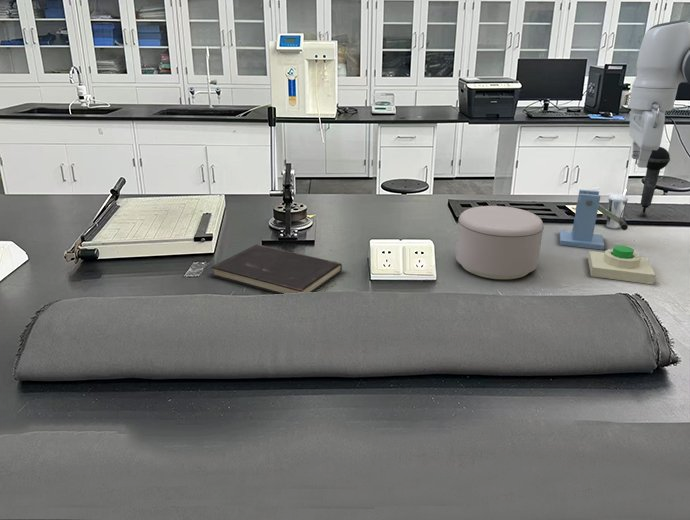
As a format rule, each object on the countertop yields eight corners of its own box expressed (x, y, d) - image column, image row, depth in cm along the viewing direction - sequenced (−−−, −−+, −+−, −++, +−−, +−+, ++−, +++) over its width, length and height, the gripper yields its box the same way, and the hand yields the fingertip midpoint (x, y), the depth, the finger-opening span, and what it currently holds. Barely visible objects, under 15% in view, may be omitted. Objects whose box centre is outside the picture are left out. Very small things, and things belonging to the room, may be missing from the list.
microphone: (624, 213, 156) (639, 144, 149) (646, 212, 157) (662, 144, 149) (639, 220, 150) (655, 149, 142) (661, 219, 151) (678, 148, 143)
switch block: (645, 266, 120) (649, 250, 118) (653, 284, 111) (657, 266, 109) (587, 259, 123) (591, 243, 122) (590, 276, 115) (594, 259, 113)
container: (535, 287, 109) (543, 234, 105) (448, 275, 115) (452, 223, 110) (538, 256, 125) (545, 208, 120) (461, 246, 131) (465, 200, 126)
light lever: (620, 225, 132) (627, 217, 131) (623, 232, 127) (630, 225, 126) (579, 197, 133) (586, 189, 132) (580, 203, 128) (587, 195, 127)
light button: (631, 254, 117) (632, 246, 116) (633, 260, 113) (635, 253, 113) (611, 251, 118) (612, 244, 117) (613, 258, 114) (614, 250, 114)
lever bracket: (601, 239, 136) (610, 190, 131) (603, 249, 129) (614, 199, 124) (559, 234, 139) (567, 186, 134) (559, 244, 132) (568, 195, 127)
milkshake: (626, 226, 145) (634, 191, 141) (615, 230, 142) (623, 194, 138) (611, 222, 148) (618, 187, 144) (599, 226, 145) (606, 190, 142)
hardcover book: (301, 300, 104) (300, 290, 103) (212, 276, 114) (211, 266, 113) (342, 271, 116) (342, 262, 116) (258, 252, 127) (258, 243, 126)
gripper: (677, 106, 108) (661, 173, 113) (659, 97, 126) (646, 155, 131) (642, 105, 110) (629, 171, 115) (629, 96, 128) (618, 153, 133)
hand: (638, 162), depth 123 cm, fingers open, 8 cm apart
